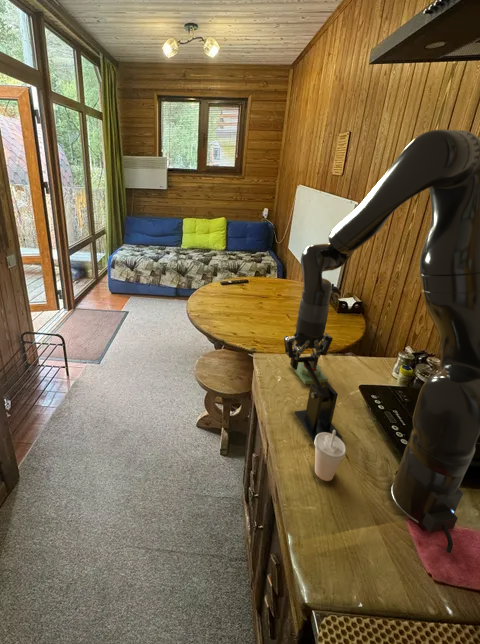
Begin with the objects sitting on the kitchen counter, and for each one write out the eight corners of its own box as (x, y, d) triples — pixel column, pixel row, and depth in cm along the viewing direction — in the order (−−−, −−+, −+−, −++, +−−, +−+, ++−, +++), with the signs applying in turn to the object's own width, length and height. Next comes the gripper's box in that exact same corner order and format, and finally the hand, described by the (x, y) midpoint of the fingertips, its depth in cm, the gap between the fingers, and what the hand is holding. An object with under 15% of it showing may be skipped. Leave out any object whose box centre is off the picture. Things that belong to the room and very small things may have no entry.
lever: (294, 360, 89) (296, 355, 88) (310, 359, 90) (312, 354, 89) (315, 403, 79) (318, 398, 78) (332, 401, 80) (336, 396, 79)
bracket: (293, 414, 88) (300, 377, 83) (319, 411, 89) (327, 375, 85) (312, 444, 78) (320, 404, 74) (340, 440, 80) (350, 401, 75)
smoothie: (311, 487, 68) (322, 439, 63) (305, 460, 74) (314, 415, 69) (342, 491, 67) (354, 443, 62) (333, 464, 73) (344, 418, 68)
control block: (327, 384, 100) (329, 374, 99) (304, 386, 99) (306, 376, 97) (312, 367, 109) (314, 357, 107) (291, 369, 107) (292, 359, 106)
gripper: (294, 323, 79) (286, 378, 85) (344, 320, 81) (333, 373, 87) (281, 310, 86) (274, 361, 92) (328, 307, 88) (318, 357, 94)
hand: (303, 367), depth 89 cm, fingers closed on lever, 5 cm apart
